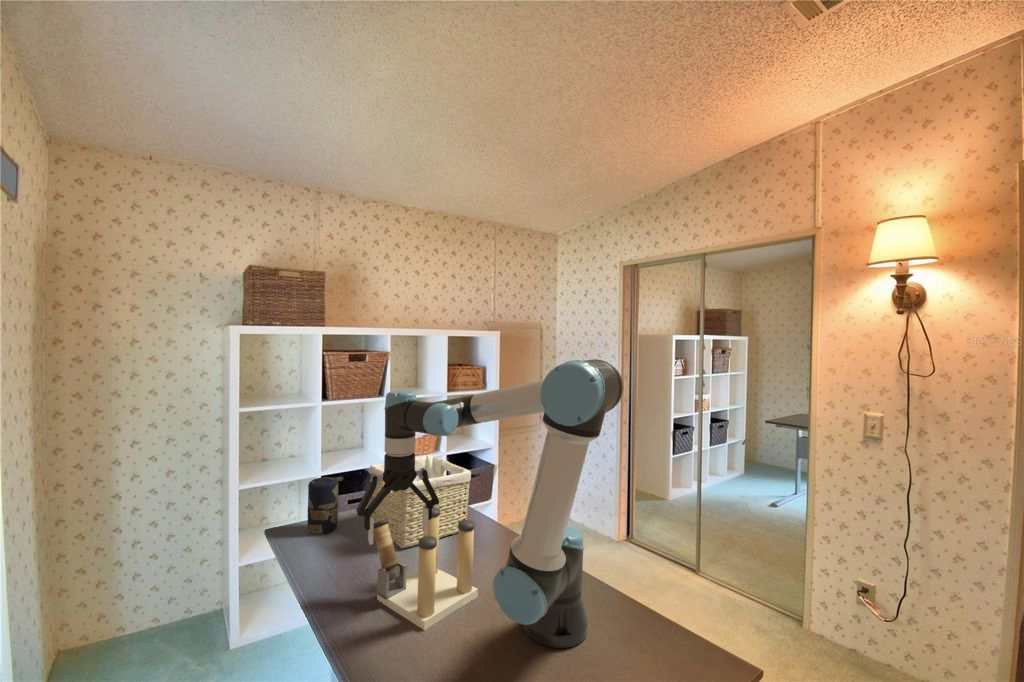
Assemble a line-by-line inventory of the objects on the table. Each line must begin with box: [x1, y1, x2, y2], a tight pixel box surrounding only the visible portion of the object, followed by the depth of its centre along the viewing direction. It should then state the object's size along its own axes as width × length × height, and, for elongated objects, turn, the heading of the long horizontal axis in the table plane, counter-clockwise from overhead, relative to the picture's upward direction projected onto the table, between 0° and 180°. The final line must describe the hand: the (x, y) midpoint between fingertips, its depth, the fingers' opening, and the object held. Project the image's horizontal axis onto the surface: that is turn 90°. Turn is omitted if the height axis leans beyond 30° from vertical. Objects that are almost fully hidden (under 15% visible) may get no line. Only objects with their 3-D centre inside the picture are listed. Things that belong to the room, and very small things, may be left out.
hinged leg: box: [373, 519, 402, 582], centre depth 118 cm, size 14×4×4 cm
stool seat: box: [376, 507, 479, 631], centre depth 117 cm, size 18×19×19 cm
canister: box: [307, 476, 339, 535], centre depth 155 cm, size 10×10×18 cm
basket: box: [368, 454, 472, 549], centre depth 159 cm, size 27×27×22 cm
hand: (398, 537), depth 115 cm, fingers open, 13 cm apart
